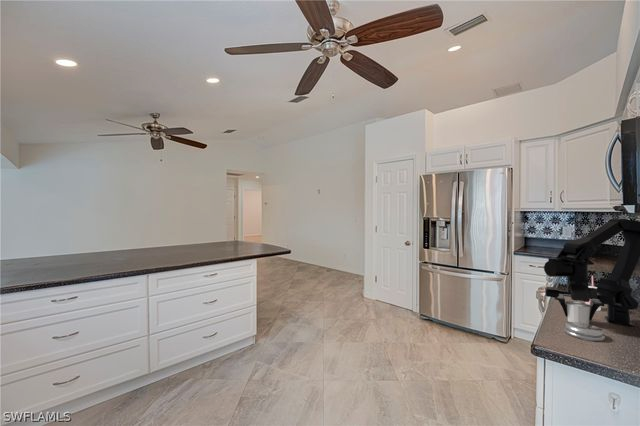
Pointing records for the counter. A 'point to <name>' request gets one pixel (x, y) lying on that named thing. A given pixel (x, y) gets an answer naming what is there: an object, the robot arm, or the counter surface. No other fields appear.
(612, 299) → the robot arm
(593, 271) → the counter surface
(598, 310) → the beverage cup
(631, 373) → the counter surface
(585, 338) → the duct stub
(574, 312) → the white cup
